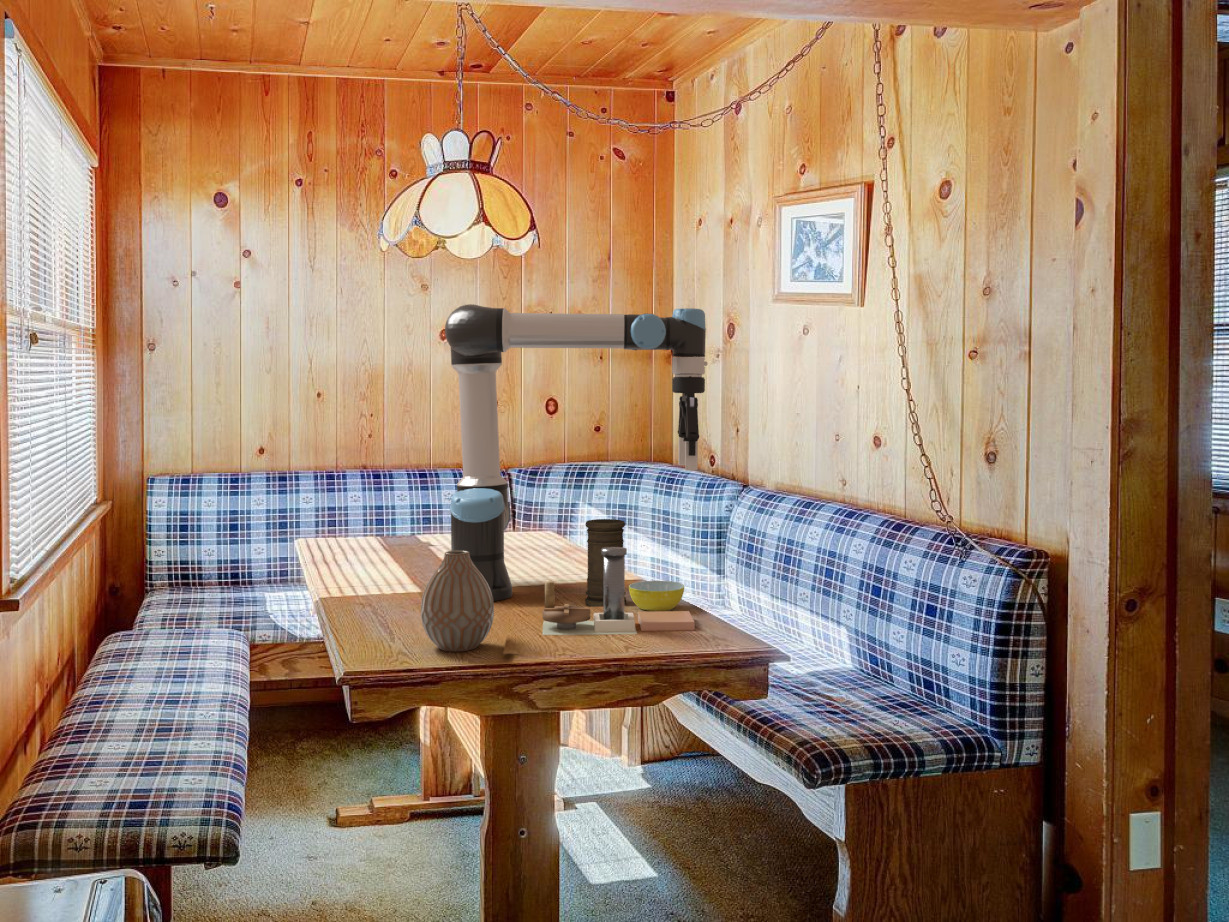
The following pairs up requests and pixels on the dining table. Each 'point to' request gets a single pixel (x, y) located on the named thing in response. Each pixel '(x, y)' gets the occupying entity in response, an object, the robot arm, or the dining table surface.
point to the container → (600, 555)
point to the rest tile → (666, 620)
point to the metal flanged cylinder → (614, 582)
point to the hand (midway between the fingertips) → (687, 467)
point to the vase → (457, 604)
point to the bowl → (656, 595)
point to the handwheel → (562, 609)
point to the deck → (592, 626)
